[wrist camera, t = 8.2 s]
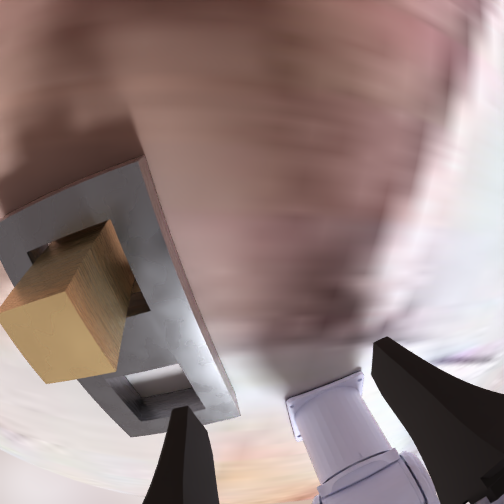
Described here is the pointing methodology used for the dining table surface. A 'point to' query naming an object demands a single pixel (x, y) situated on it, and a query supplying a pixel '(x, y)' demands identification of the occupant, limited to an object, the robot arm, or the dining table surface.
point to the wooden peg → (72, 306)
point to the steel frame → (141, 303)
